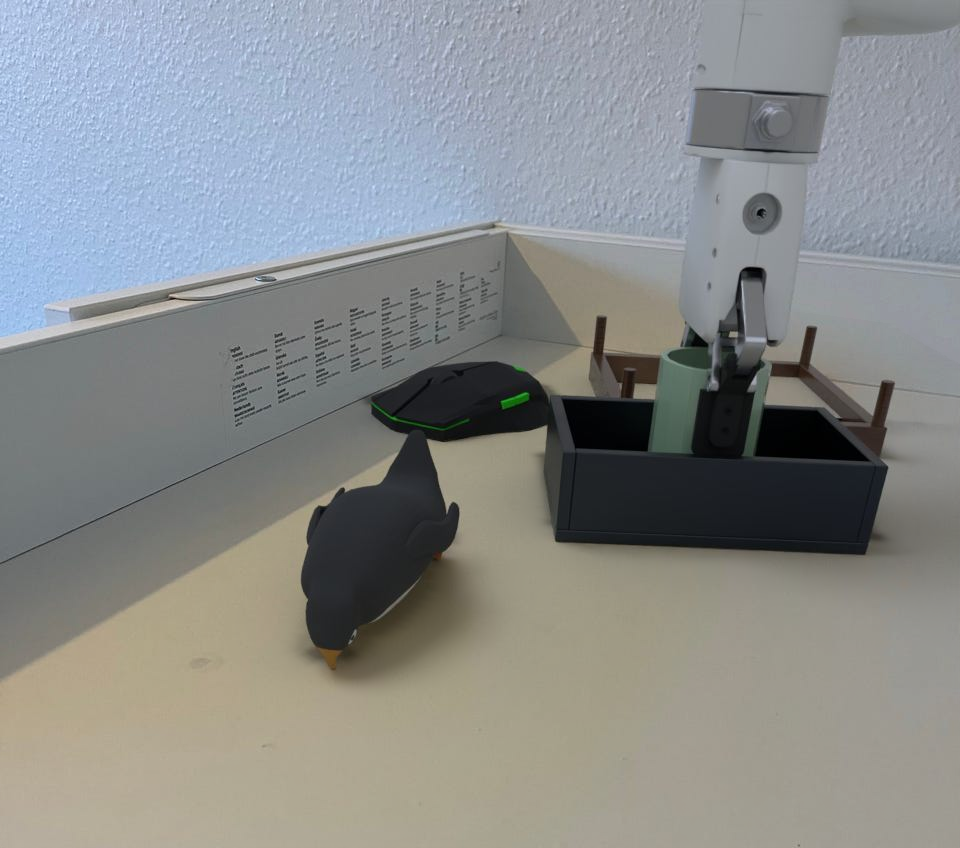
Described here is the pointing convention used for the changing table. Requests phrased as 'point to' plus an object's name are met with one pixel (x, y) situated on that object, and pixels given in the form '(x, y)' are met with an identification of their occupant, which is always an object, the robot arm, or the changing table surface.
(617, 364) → the frame
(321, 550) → the figurine
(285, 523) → the changing table surface
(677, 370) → the cup
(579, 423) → the black open box
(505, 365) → the computer mouse
